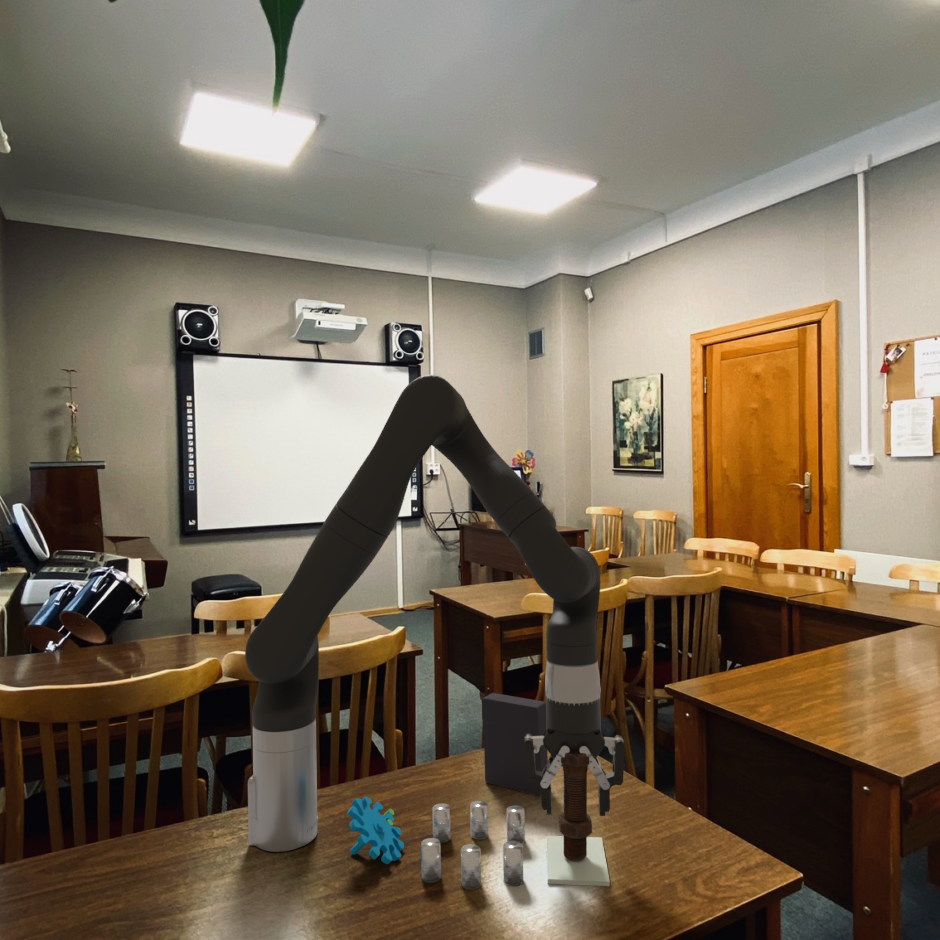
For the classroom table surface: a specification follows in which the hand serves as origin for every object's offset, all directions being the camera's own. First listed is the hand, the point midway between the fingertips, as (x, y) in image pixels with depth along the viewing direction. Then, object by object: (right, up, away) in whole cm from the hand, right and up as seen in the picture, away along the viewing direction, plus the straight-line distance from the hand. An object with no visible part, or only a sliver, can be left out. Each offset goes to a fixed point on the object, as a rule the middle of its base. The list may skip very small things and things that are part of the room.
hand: (575, 812), depth 95 cm
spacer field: (-14, -7, +1) cm, 16 cm away
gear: (-28, -8, +3) cm, 29 cm away
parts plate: (0, -7, 0) cm, 7 cm away
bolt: (0, -6, 0) cm, 6 cm away
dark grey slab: (-7, -7, +24) cm, 26 cm away
